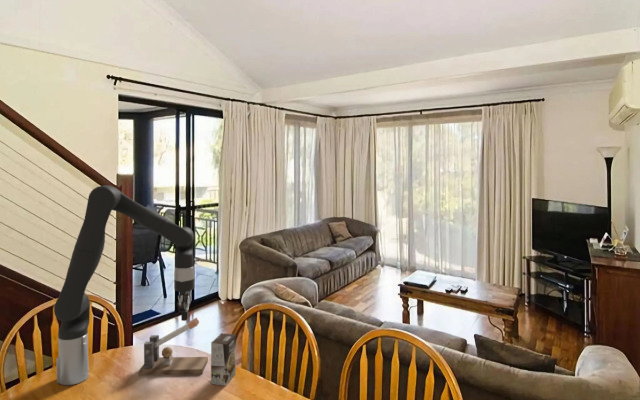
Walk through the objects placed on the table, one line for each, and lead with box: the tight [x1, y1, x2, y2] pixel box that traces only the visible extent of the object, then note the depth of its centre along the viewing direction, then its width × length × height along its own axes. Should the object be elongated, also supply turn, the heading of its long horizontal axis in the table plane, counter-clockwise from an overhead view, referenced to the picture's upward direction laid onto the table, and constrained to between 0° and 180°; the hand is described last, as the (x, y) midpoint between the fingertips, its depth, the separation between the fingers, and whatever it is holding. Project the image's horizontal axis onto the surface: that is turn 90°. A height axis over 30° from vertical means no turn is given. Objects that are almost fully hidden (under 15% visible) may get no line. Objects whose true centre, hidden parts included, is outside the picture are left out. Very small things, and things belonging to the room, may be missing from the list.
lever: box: [154, 317, 200, 348], centre depth 152 cm, size 22×4×2 cm, turn 94°
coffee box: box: [210, 332, 237, 387], centre depth 145 cm, size 9×6×16 cm
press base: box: [138, 334, 209, 376], centre depth 152 cm, size 24×10×12 cm, turn 94°
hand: (184, 319), depth 152 cm, fingers closed
